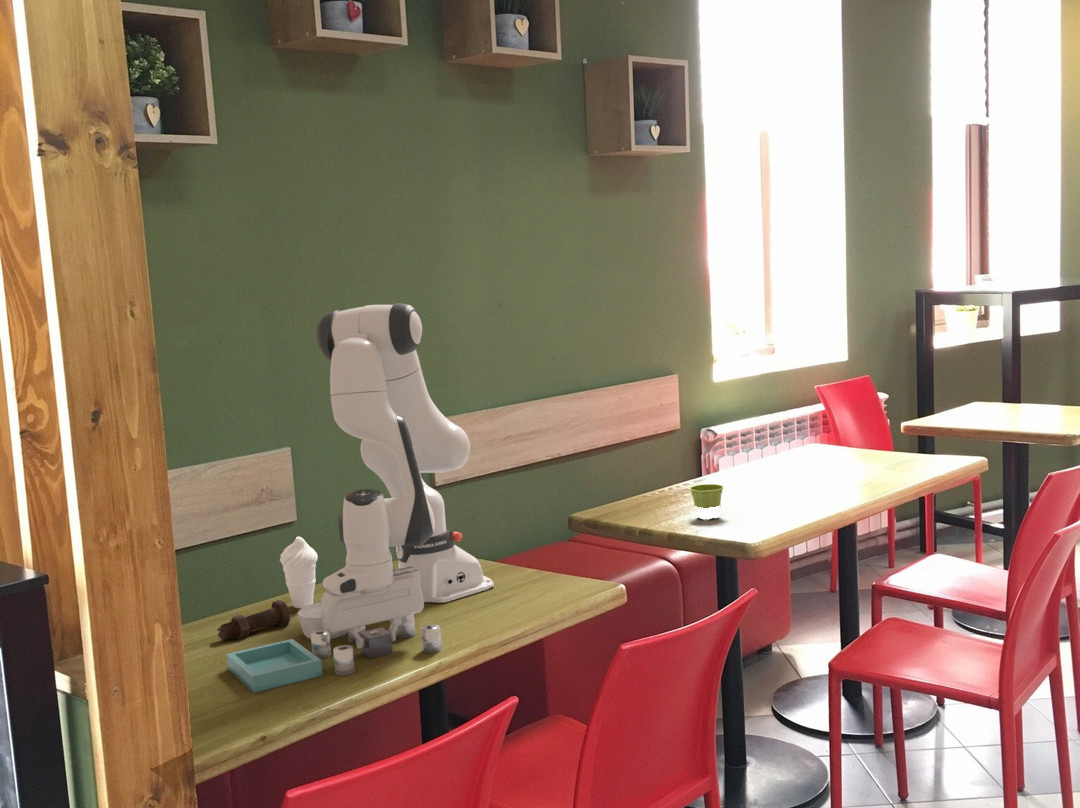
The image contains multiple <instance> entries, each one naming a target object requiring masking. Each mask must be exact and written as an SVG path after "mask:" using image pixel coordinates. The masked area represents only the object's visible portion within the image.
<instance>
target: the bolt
mask: <svg viewBox="0 0 1080 808" xmlns="http://www.w3.org/2000/svg"><path fill="white" fill-rule="evenodd" d="M290 621H291V612H290V609H289V606H288V605H287V603H286V602H285V601H284V600H278V599H277V600H273V601H272V604H271V607H270V608H268V609H266V610H263V611H259V612H256V613H253V614H250V615H247V616H244V615H240V614H238V615H234V616H233V617H232V618H231V620H230V622H225V623H222V624H221V625H220V626H219V627H218V628H217V629H216V631H217V632H218V633H217V637H218V638H219V639H221V640H223V641H227V640H229V639H232V638H236V639H237V638H238V639H244V638H246V637H248V636H249V634H250V632H253V631H256V630H259V629H263V628H265V627H268V626H271V625H275V624H276V625H278V626H281V627H285V626H288V625H289V624H290Z"/></svg>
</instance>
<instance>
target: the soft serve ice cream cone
mask: <svg viewBox="0 0 1080 808" xmlns="http://www.w3.org/2000/svg"><path fill="white" fill-rule="evenodd" d="M279 562H280V563H281V566H282V570H283V572H284V577H285V585H286V587H287V589H288V593H289V596H290V599H291V602H292V606H293V608H296V609H302V608H303V607H305V606H308V605H311V604H314V594H315V585H316V581H317V580H316V568H317V564H316V563H317V562H318V553H317V552H316V551H315V549H314V548H313V547H311V546H310V545H309V544H308V542H306V540H305V539H304V538H303V537H301V536H296V538H295V539H294V541H293V542H292V543H290V544H289V545H287V547H285V548H284V549H283V551H282V553H280V558H279Z"/></svg>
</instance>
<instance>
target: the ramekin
mask: <svg viewBox="0 0 1080 808" xmlns="http://www.w3.org/2000/svg"><path fill="white" fill-rule="evenodd" d="M297 617H298V619H299V621H300V626H301V629H302V632H303V635H304V636H305V637H306V638H308V639H309V640H311V633H312V632H315V631H319V630H326V629H324V628H323V626H322V622H321V601H320V602H315V603H314V602H313V604H311V605H308V606H305V607H303V608H299V610H298V611H297ZM329 633H330V632H329ZM347 634H348V631H347V630H343V631H339V632H335V633H330V640H333V639H336V638H340V637H343V636H345V635H347Z"/></svg>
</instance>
